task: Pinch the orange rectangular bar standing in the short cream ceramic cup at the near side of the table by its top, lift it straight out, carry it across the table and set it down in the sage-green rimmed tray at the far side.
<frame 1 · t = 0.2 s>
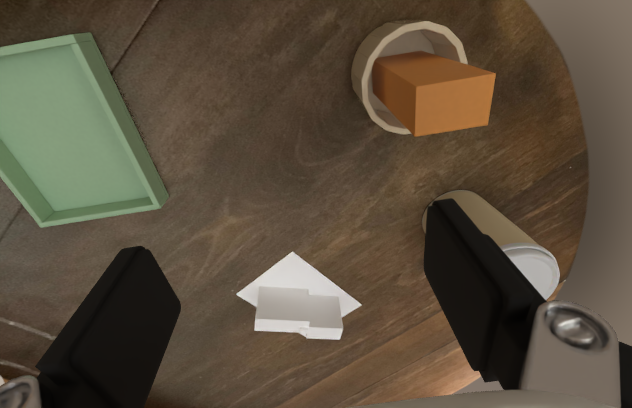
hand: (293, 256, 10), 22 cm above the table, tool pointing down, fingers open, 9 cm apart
coffee cup: (451, 215, 38), on the table
tray: (70, 137, 30), on the table
napkin holder: (300, 298, 45), on the table
orange rectangular bar: (396, 72, 28), resting on cup
cup: (394, 71, 28), on the table
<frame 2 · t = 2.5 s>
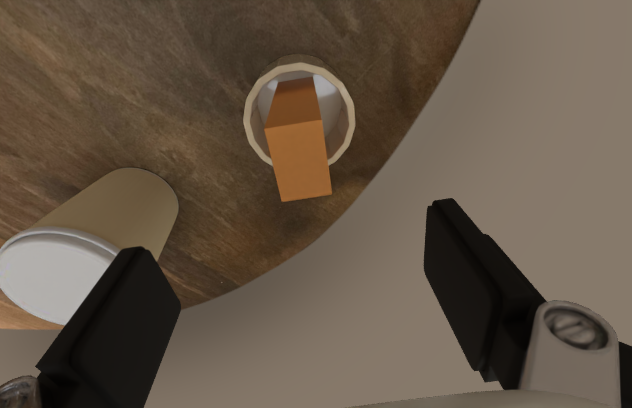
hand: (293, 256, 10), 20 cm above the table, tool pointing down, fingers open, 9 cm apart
coffee cup: (141, 199, 32), on the table
orange rectangular bar: (299, 106, 27), resting on cup
cup: (299, 104, 27), on the table
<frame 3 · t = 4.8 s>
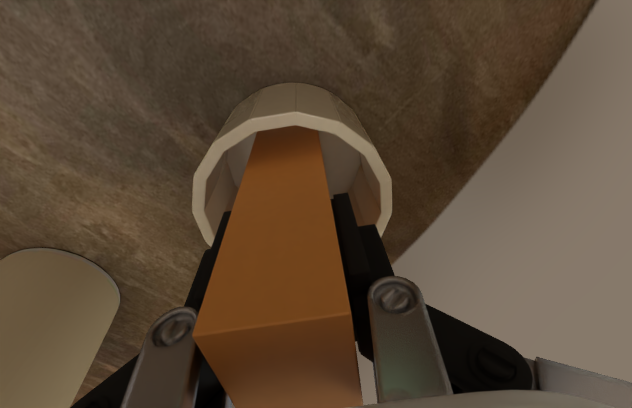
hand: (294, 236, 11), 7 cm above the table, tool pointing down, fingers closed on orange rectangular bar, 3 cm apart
coffee cup: (64, 286, 22), on the table
orange rectangular bar: (294, 162, 17), point 1 cm above the table, touching cup, gripper
cup: (294, 158, 17), on the table
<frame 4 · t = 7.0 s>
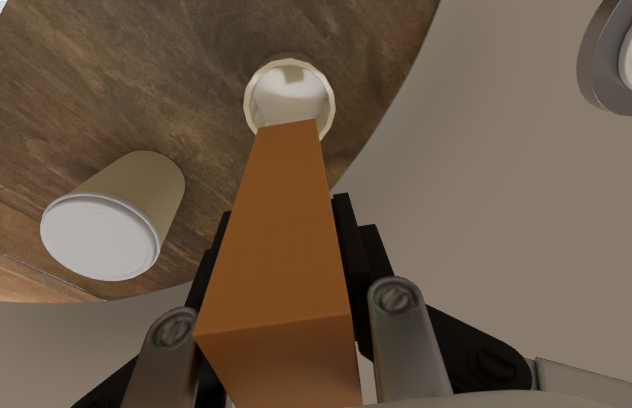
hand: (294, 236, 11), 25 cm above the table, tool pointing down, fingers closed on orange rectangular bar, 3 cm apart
coffee cup: (152, 179, 36), on the table
orange rectangular bar: (294, 162, 17), point 18 cm above the table, touching gripper
cup: (290, 94, 32), on the table
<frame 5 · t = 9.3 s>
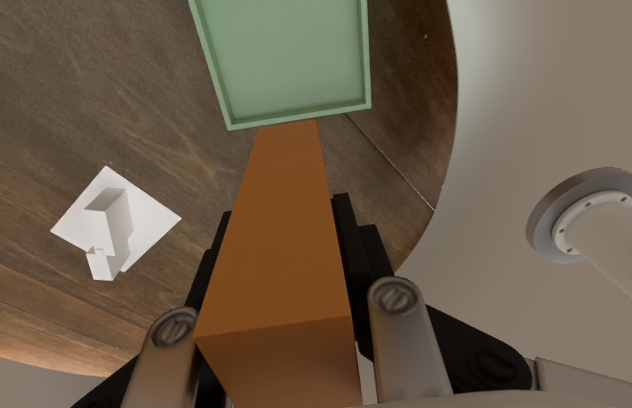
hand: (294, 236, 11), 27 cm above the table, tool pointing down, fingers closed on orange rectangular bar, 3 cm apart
tray: (288, 51, 32), on the table
napkin holder: (116, 223, 43), on the table
orange rectangular bar: (294, 162, 17), point 21 cm above the table, touching gripper
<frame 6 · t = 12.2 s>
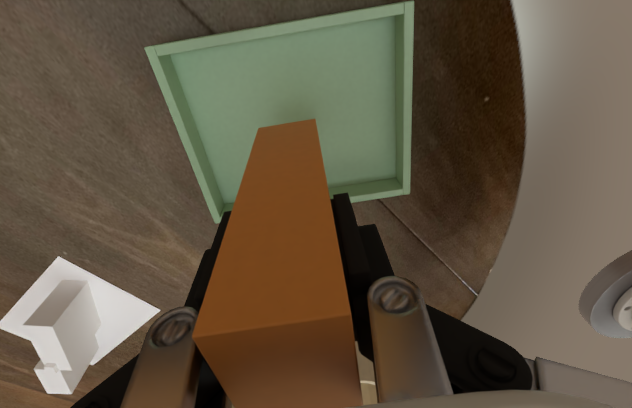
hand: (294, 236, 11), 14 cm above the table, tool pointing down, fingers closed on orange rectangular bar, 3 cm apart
tray: (297, 121, 24), on the table
napkin holder: (79, 316, 34), on the table
orange rectangular bar: (294, 162, 17), point 8 cm above the table, touching gripper
cup: (347, 355, 41), on the table
when the fingers open (7 cm above the table, at t = 14.1 s): orange rectangular bar stays where it is, resting on tray.
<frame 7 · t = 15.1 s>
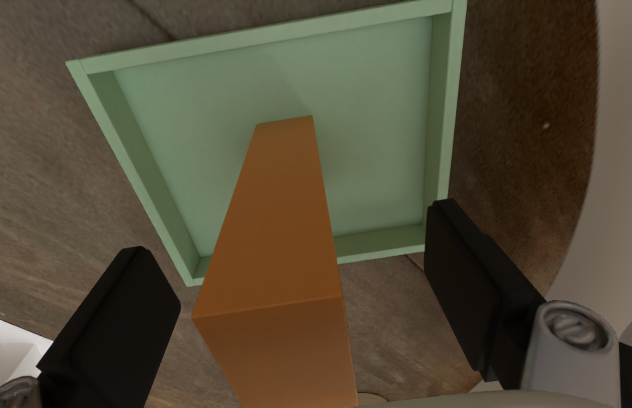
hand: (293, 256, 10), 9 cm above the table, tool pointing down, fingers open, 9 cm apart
tray: (293, 155, 18), on the table
napkin holder: (30, 380, 28), on the table
orange rectangular bar: (292, 158, 17), resting on tray
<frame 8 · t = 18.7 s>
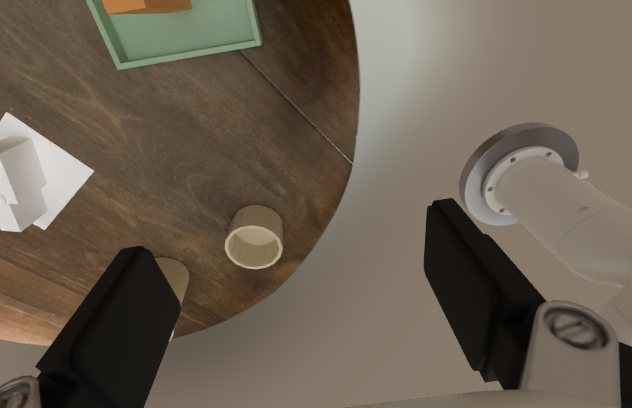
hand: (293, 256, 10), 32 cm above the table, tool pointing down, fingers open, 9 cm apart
coffee cup: (167, 272, 54), on the table
napkin holder: (28, 176, 43), on the table
cup: (257, 226, 49), on the table
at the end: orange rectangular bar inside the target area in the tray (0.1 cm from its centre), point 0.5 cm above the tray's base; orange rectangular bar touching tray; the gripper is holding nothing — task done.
